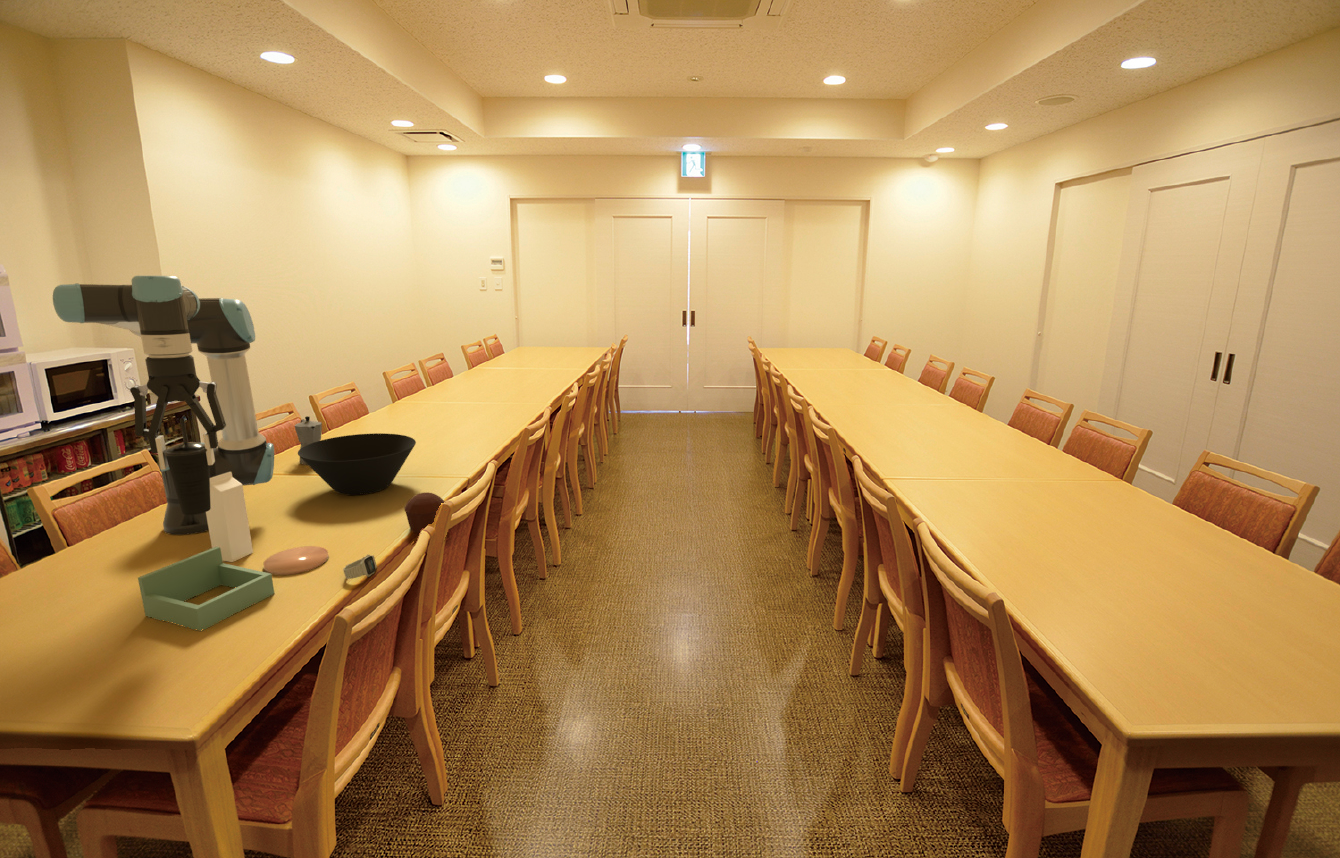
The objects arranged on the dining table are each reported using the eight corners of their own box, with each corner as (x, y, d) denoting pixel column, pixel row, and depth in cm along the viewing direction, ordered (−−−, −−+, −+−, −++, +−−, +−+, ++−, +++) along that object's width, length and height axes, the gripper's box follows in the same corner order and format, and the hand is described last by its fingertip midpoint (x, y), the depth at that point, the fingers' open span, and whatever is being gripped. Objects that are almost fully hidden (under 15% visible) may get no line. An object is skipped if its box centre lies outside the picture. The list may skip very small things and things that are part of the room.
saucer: (250, 569, 151) (249, 565, 151) (300, 547, 164) (299, 542, 164) (293, 579, 147) (292, 574, 147) (341, 555, 160) (340, 550, 160)
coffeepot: (331, 462, 238) (326, 417, 234) (304, 467, 232) (298, 421, 227) (319, 454, 249) (314, 411, 244) (293, 458, 242) (287, 414, 238)
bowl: (364, 513, 188) (359, 466, 185) (277, 498, 199) (271, 454, 196) (441, 479, 221) (438, 438, 218) (362, 468, 232) (358, 429, 229)
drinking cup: (194, 519, 126) (179, 424, 121) (164, 515, 127) (147, 421, 122) (227, 506, 133) (214, 416, 128) (198, 503, 134) (184, 413, 130)
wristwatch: (361, 584, 146) (359, 564, 144) (336, 582, 146) (334, 563, 145) (383, 566, 154) (381, 548, 153) (359, 565, 155) (357, 546, 154)
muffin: (406, 522, 182) (403, 490, 179) (445, 517, 186) (443, 486, 184) (406, 537, 171) (403, 504, 169) (448, 532, 176) (446, 499, 173)
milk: (213, 559, 156) (198, 477, 151) (235, 550, 162) (221, 470, 157) (232, 562, 155) (218, 479, 150) (254, 552, 161) (240, 472, 155)
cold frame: (145, 616, 130) (137, 577, 128) (222, 581, 145) (216, 546, 143) (200, 631, 125) (193, 591, 123) (274, 593, 140) (269, 557, 138)
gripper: (96, 359, 115) (120, 476, 120) (226, 355, 123) (243, 464, 129) (110, 354, 121) (132, 466, 127) (233, 351, 130) (248, 455, 135)
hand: (188, 465), depth 128 cm, fingers closed on drinking cup, 7 cm apart
